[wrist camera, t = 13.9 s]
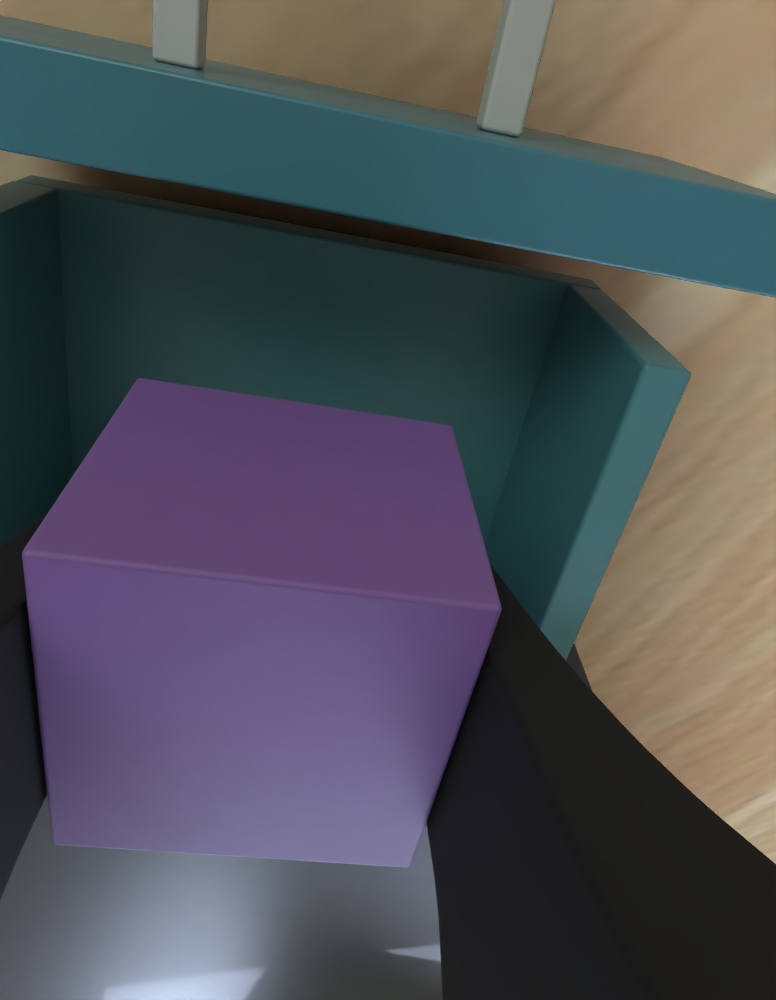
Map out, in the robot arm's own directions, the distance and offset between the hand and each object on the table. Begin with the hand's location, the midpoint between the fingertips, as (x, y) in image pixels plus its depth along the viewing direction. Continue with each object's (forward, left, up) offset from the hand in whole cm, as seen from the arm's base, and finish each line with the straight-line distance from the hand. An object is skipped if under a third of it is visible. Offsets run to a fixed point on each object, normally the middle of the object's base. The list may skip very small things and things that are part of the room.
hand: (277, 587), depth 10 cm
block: (0, 0, -1) cm, 1 cm away
